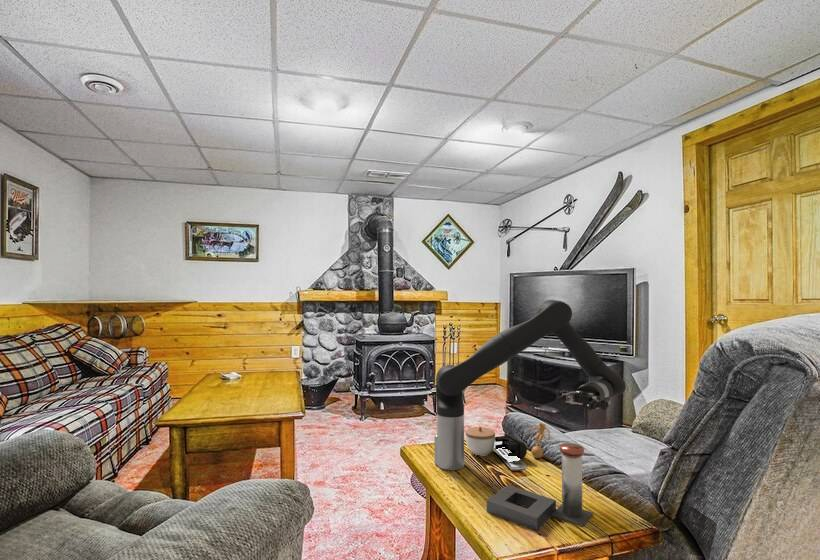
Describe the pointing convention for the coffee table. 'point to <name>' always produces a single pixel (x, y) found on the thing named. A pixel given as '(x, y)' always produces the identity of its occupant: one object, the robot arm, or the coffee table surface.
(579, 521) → the mat
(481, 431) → the lidded jar
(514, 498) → the bore housing
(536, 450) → the figurine
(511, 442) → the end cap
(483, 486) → the coffee table surface
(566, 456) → the capped metal cylinder
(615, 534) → the coffee table surface
